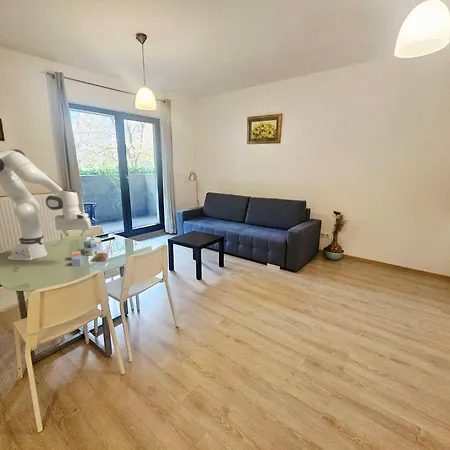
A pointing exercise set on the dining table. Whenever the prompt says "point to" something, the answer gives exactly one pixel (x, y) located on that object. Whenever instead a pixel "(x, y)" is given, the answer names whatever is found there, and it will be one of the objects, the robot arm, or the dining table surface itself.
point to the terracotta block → (75, 254)
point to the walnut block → (100, 257)
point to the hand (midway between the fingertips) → (74, 236)
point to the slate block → (77, 261)
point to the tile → (101, 264)
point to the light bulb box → (92, 246)
